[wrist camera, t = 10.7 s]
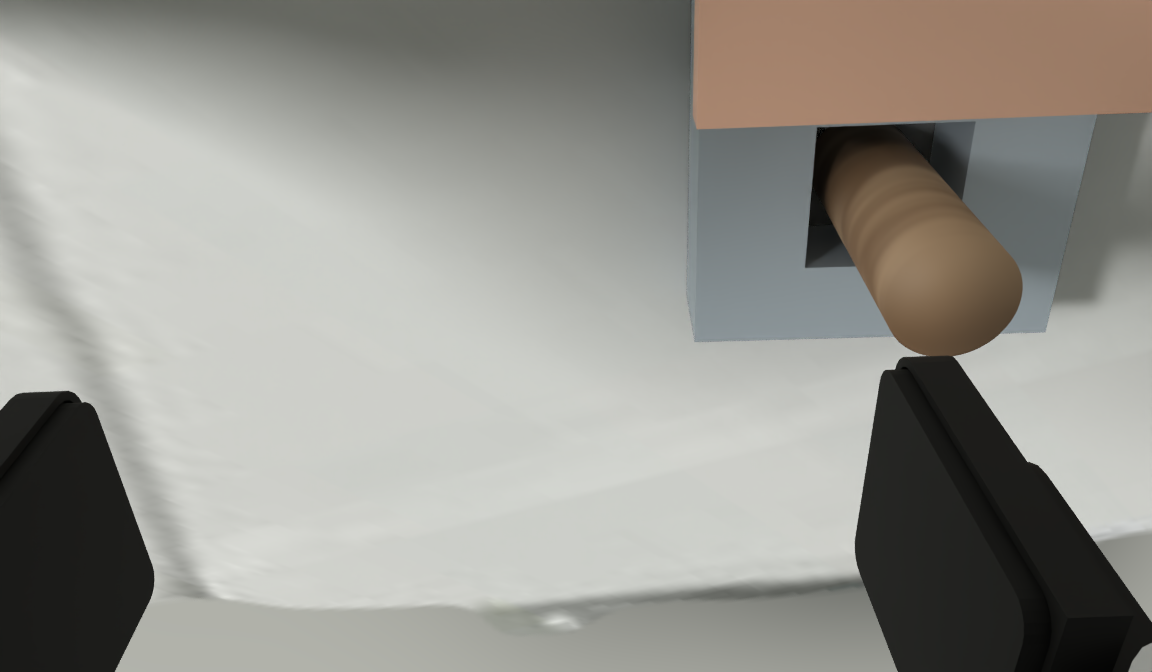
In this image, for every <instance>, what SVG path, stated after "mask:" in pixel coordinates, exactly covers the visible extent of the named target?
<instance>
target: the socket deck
mask: <svg viewBox="0 0 1152 672" xmlns="http://www.w3.org/2000/svg"><path fill="white" fill-rule="evenodd" d="M1148 112H1152V0H691V60H690V124H689V188H688V251H687V300H688V306H689V312H690V318H691V324H692V329H693V335H694V341H695V342H714V341H750V340H786V339H822V338H858V337H893V336H894V335H893V334H892V332H891V331H890V329H889V327H888V325H887V323H886V322H885V320H884V318H883V316H882V314H881V312H880V310H879V309H878V307H877V305H876V303H875V301H874V299H873V297H872V296H871V294H870V292H869V290H868V288H867V286H866V284H865V283H864V281H863V279H862V277H861V275H860V273H859V271H858V270H857V268H856V266H855V264H854V262H853V260H852V258H851V257H850V255H849V253H848V251H847V249H846V247H845V245H844V244H843V242H842V240H841V238H840V236H839V234H838V232H837V231H836V229H835V227H834V225H822V226H808V225H809V214H810V202H811V190H812V179H813V167H814V155H815V144H816V132H817V127H839V126H866V125H893V124H919V123H935V130H934V137H933V143H932V150H931V156H930V163H929V164H930V165H931V166H932V167H933V168H934V170H935V171H936V172H937V173H938V174H939V175H940V176H941V177H942V179H943V180H944V181H945V182H946V183H947V184H948V185H949V186H950V188H951V189H952V190H953V191H954V192H955V193H956V194H957V195H958V197H959V198H960V199H961V200H962V201H963V202H964V203H965V205H966V206H967V207H968V208H969V209H970V210H971V211H972V212H973V214H974V215H975V216H976V217H977V218H978V219H979V220H980V221H981V223H982V224H983V225H984V226H985V227H986V228H987V229H988V230H989V232H990V233H991V234H992V235H993V236H994V237H995V238H996V240H997V241H998V242H999V243H1000V244H1001V245H1002V246H1003V247H1004V249H1005V250H1006V251H1007V252H1008V253H1009V254H1010V255H1011V257H1012V258H1013V259H1014V260H1015V262H1016V264H1017V265H1018V267H1019V270H1020V272H1021V276H1022V282H1023V291H1022V298H1021V301H1020V305H1019V307H1018V310H1017V312H1016V314H1015V315H1014V317H1013V319H1012V320H1011V322H1010V323H1009V324H1008V326H1007V327H1006V328H1005V329H1004V330H1003V331H1002V332H1001V333H1036V332H1045V331H1046V327H1047V323H1048V319H1049V314H1050V310H1051V306H1052V302H1053V298H1054V294H1055V289H1056V285H1057V281H1058V277H1059V273H1060V268H1061V264H1062V260H1063V256H1064V252H1065V247H1066V243H1067V239H1068V235H1069V231H1070V227H1071V222H1072V218H1073V214H1074V210H1075V206H1076V201H1077V197H1078V193H1079V189H1080V185H1081V180H1082V176H1083V172H1084V168H1085V164H1086V160H1087V155H1088V151H1089V147H1090V143H1091V139H1092V134H1093V130H1094V126H1095V122H1096V118H1097V114H1122V113H1148ZM1001 333H1000V334H1001Z"/></svg>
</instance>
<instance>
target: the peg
mask: <svg viewBox="0 0 1152 672" xmlns="http://www.w3.org/2000/svg"><path fill="white" fill-rule="evenodd" d="M812 186H813V188H814V190H815V192H816V194H817V195H818V197H819V199H820V201H821V203H822V205H823V207H824V208H825V210H826V212H827V214H828V216H829V218H830V220H831V221H832V223H833V225H834V227H835V229H836V231H837V232H838V234H839V236H840V238H841V240H842V242H843V244H844V245H845V247H846V249H847V251H848V253H849V255H850V257H851V258H852V260H853V262H854V264H855V266H856V268H857V270H858V271H859V273H860V275H861V277H862V279H863V281H864V283H865V284H866V286H867V288H868V290H869V292H870V294H871V296H872V297H873V299H874V301H875V303H876V305H877V307H878V309H879V310H880V312H881V314H882V316H883V318H884V320H885V322H886V323H887V325H888V327H889V329H890V331H891V332H892V334H893V335H894V337H895V338H896V339H897V340H898V341H899V342H900V343H901V344H902V345H904V346H905V347H907V348H908V349H910V350H912V351H914V352H916V353H919V354H923V355H926V356H946V355H948V356H956V355H961V354H964V353H968V352H970V351H973V350H975V349H978V348H980V347H981V346H983V345H985V344H987V343H988V342H990V341H991V340H993V339H994V338H995V337H996V336H998V335H999V334H1000V333H1001V332H1002V331H1003V330H1004V329H1005V328H1006V327H1007V326H1008V324H1009V323H1010V322H1011V320H1012V319H1013V317H1014V315H1015V314H1016V312H1017V310H1018V307H1019V305H1020V301H1021V298H1022V291H1023V282H1022V276H1021V272H1020V270H1019V267H1018V265H1017V264H1016V262H1015V260H1014V259H1013V258H1012V257H1011V255H1010V254H1009V253H1008V252H1007V251H1006V250H1005V249H1004V247H1003V246H1002V245H1001V244H1000V243H999V242H998V241H997V240H996V238H995V237H994V236H993V235H992V234H991V233H990V232H989V230H988V229H987V228H986V227H985V226H984V225H983V224H982V223H981V221H980V220H979V219H978V218H977V217H976V216H975V215H974V214H973V212H972V211H971V210H970V209H969V208H968V207H967V206H966V205H965V203H964V202H963V201H962V200H961V199H960V198H959V197H958V195H957V194H956V193H955V192H954V191H953V190H952V189H951V188H950V186H949V185H948V184H947V183H946V182H945V181H944V180H943V179H942V177H941V176H940V175H939V174H938V173H937V172H936V171H935V170H934V168H933V167H932V166H931V165H930V164H929V163H928V162H927V160H926V159H925V158H924V157H923V156H922V155H921V154H920V153H919V151H918V150H917V149H916V148H915V147H914V146H913V145H912V144H911V142H910V141H909V140H908V139H907V138H906V137H905V136H904V135H903V133H902V132H901V131H900V130H899V129H898V128H897V127H896V126H895V125H894V124H893V125H866V126H839V127H828V128H827V129H826V130H825V131H824V132H823V133H822V134H821V135H820V136H819V138H818V139H817V140H816V144H815V155H814V167H813V179H812Z"/></svg>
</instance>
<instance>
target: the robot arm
mask: <svg viewBox="0 0 1152 672" xmlns="http://www.w3.org/2000/svg"><path fill="white" fill-rule="evenodd" d="M855 555H856V561H857V566H858V569H859V572H860V575H861V578H862V580H863V583H864V585H865V588H866V591H867V593H868V596H869V598H870V601H871V603H872V606H873V609H874V611H875V613H876V616H877V619H878V622H879V624H880V627H881V629H882V632H883V634H884V637H885V640H886V642H887V645H888V648H889V650H890V653H891V655H892V658H893V660H894V663H895V666H896V668H897V671H898V672H1152V622H1151V621H1150V620H1149V618H1148V617H1147V615H1146V614H1145V612H1144V611H1143V610H1142V608H1141V607H1140V605H1139V604H1138V602H1137V601H1136V600H1135V598H1134V597H1133V596H1132V594H1131V593H1130V591H1129V590H1128V588H1127V587H1126V586H1125V584H1124V583H1123V581H1122V580H1121V579H1120V577H1119V576H1118V574H1117V573H1116V572H1115V570H1114V569H1113V567H1112V566H1111V564H1110V563H1109V562H1108V560H1107V559H1106V557H1105V556H1104V555H1103V553H1102V552H1101V550H1100V549H1099V548H1098V546H1097V545H1096V543H1095V542H1094V541H1093V539H1092V538H1091V536H1090V535H1089V533H1088V532H1087V531H1086V529H1085V528H1084V526H1083V525H1082V524H1081V522H1080V521H1079V519H1078V518H1077V517H1076V515H1075V514H1074V512H1073V511H1072V510H1071V508H1070V507H1069V505H1068V504H1067V502H1066V501H1065V500H1064V498H1063V497H1062V495H1061V494H1060V493H1059V491H1058V490H1057V488H1056V487H1055V486H1054V484H1053V483H1052V481H1051V480H1050V479H1049V477H1048V476H1047V474H1046V473H1045V472H1044V471H1043V470H1042V469H1041V468H1040V467H1039V466H1038V465H1035V464H1033V463H1030V462H1027V461H1026V459H1025V458H1024V457H1023V455H1022V454H1021V452H1020V451H1019V449H1018V448H1017V446H1016V445H1015V444H1014V442H1013V441H1012V439H1011V438H1010V436H1009V435H1008V434H1007V432H1006V431H1005V429H1004V428H1003V426H1002V425H1001V423H1000V422H999V421H998V419H997V418H996V416H995V415H994V413H993V412H992V411H991V409H990V408H989V406H988V405H987V403H986V402H985V400H984V399H983V398H982V396H981V395H980V393H979V392H978V390H977V389H976V387H975V386H974V385H973V383H972V382H971V380H970V379H969V377H968V376H967V375H966V373H965V372H964V370H963V369H962V367H961V366H960V364H959V363H958V362H957V360H956V359H955V358H954V357H953V356H948V355H946V356H921V357H903V358H901V359H900V360H899V361H898V363H897V365H896V369H895V370H885V371H884V372H883V374H882V376H881V379H880V384H879V391H878V397H877V404H876V410H875V416H874V423H873V429H872V435H871V442H870V448H869V454H868V461H867V467H866V473H865V480H864V486H863V492H862V499H861V505H860V511H859V518H858V524H857V531H856V537H855ZM153 588H154V570H153V566H152V563H151V561H150V558H149V555H148V552H147V550H146V547H145V544H144V541H143V539H142V536H141V533H140V530H139V528H138V525H137V522H136V519H135V517H134V514H133V511H132V508H131V506H130V503H129V500H128V497H127V495H126V492H125V489H124V486H123V484H122V481H121V478H120V475H119V473H118V470H117V467H116V464H115V462H114V459H113V456H112V453H111V451H110V448H109V445H108V442H107V440H106V437H105V434H104V431H103V429H102V426H101V423H100V420H99V418H98V415H97V413H96V411H95V409H94V407H93V406H92V405H91V404H89V403H86V402H83V403H82V402H81V400H80V398H79V397H78V396H77V395H76V394H75V393H73V392H70V391H55V392H30V393H20V394H16V395H15V396H14V397H13V398H11V399H10V400H9V401H8V402H7V404H6V405H5V406H4V407H3V408H2V409H1V410H0V672H115V670H116V668H117V666H118V664H119V662H120V660H121V658H122V656H123V654H124V652H125V650H126V648H127V646H128V644H129V642H130V639H131V637H132V635H133V633H134V631H135V629H136V627H137V625H138V623H139V621H140V619H141V617H142V615H143V613H144V611H145V609H146V607H147V605H148V603H149V601H150V599H151V596H152V593H153Z"/></svg>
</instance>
